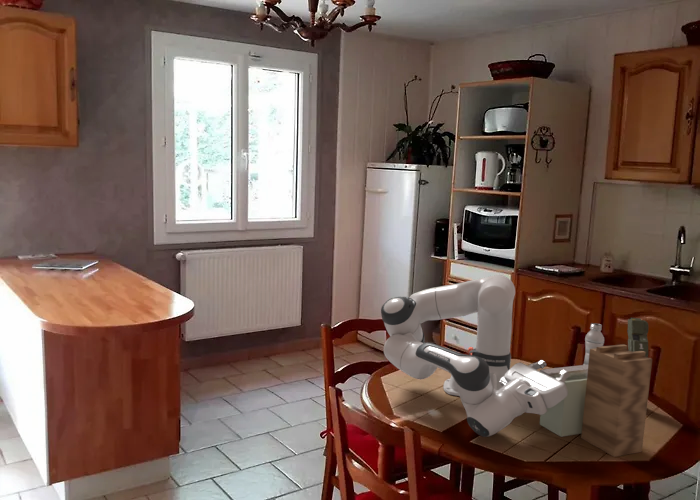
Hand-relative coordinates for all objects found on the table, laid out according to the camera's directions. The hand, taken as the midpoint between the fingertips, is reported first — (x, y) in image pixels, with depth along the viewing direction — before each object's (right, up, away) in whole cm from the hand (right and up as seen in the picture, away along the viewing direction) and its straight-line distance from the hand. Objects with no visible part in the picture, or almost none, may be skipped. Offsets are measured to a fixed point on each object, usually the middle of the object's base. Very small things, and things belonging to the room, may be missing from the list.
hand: (555, 367), depth 179 cm
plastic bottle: (+30, -14, +52) cm, 62 cm away
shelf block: (+5, -19, +5) cm, 20 cm away
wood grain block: (+14, -20, -5) cm, 25 cm away
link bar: (+5, -4, +3) cm, 7 cm away
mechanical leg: (+33, -18, +25) cm, 45 cm away
